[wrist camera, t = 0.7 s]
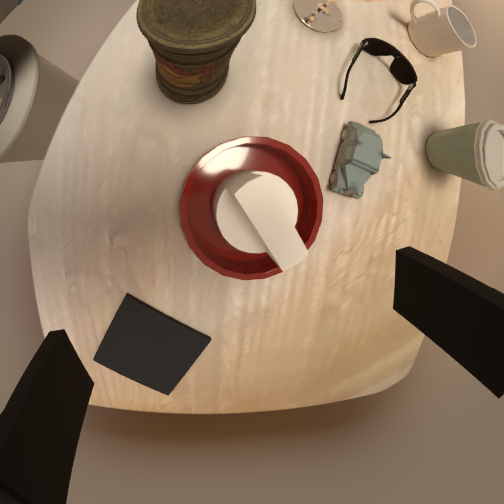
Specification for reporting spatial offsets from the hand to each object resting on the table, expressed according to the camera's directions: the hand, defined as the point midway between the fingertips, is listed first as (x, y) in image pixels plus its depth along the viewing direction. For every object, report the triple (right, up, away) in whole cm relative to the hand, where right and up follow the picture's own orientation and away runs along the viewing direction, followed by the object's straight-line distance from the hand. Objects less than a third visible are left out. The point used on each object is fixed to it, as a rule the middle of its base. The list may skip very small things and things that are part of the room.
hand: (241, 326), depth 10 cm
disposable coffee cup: (+32, +21, +31) cm, 49 cm away
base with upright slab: (0, +9, +27) cm, 28 cm away
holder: (-15, -12, +30) cm, 36 cm away
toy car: (+15, +15, +28) cm, 36 cm away
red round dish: (0, +9, +27) cm, 28 cm away
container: (-7, +25, +20) cm, 33 cm away
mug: (+29, +42, +23) cm, 56 cm away
